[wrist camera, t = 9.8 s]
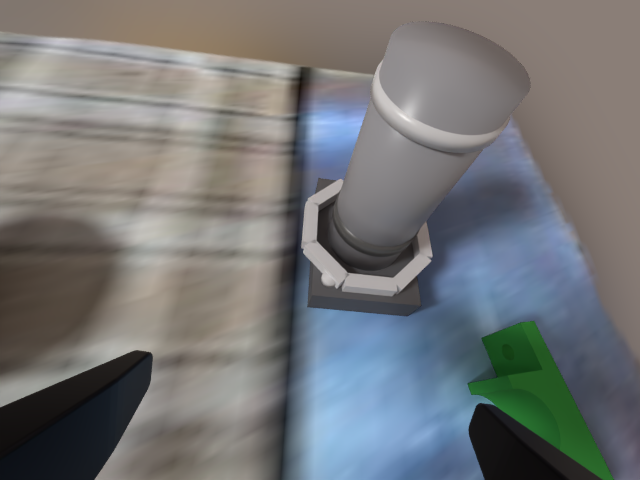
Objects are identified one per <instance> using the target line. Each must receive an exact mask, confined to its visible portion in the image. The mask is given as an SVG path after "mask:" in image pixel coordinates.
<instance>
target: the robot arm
mask: <svg viewBox="0 0 640 480" xmlns="http://www.w3.org/2000/svg"><path fill="white" fill-rule="evenodd" d="M152 361H153V356H152V354H151V352H146V351H139V350H135V351H132V352H130V353H127V354H125V355H123V356H120V357H118V358H116V359H113V360H111V361H109V362H106V363H104V364H102V365H99V366H97V367H94V368H92V369H90V370H87V371H85V372H83V373H80V374H78V375H76V376H73V377H71V378H69V379H66V380H64V381H61V382H59V383H57V384H54V385H52V386H50V387H47V388H45V389H43V390H40V391H38V392H35V393H33V394H31V395H28V396H26V397H24V398H21V399H19V400H17V401H14V402H12V403H9V404H7V405H5V406H2V407H0V480H95V478H96V477H97V475H98V474H99V472H100V471H101V469H102V468H103V466H104V465H105V463H106V462H107V460H108V459H109V457H110V456H111V454H112V453H113V451H114V449H115V448H116V446H117V444H118V442H119V441H120V439H121V437H122V435H123V433H124V432H125V430H126V428H127V426H128V424H129V423H130V421H131V419H132V417H133V415H134V413H135V412H136V410H137V408H138V406H139V404H140V403H141V401H142V399H143V397H144V395H145V393H146V392H147V390H148V387H149V385H150V381H151V372H152ZM469 437H470V440H471V443H472V445H473V448H474V451H475V454H476V457H477V460H478V462H479V465H480V468H481V471H482V474H483V477H484V479H485V480H603V479H601V478H600V477H598V476H597V475H595V474H594V473H592V472H591V471H590V470H588V469H587V468H585V467H584V466H582V465H581V464H579V463H578V462H576V461H575V460H574V459H572V458H571V457H569V456H568V455H566V454H565V453H563V452H562V451H560V450H559V449H557V448H556V447H555V446H553V445H552V444H550V443H549V442H547V441H546V440H544V439H543V438H541V437H540V436H538V435H537V434H536V433H534V432H533V431H531V430H530V429H528V428H527V427H525V426H524V425H522V424H521V423H519V422H518V421H517V420H515V419H514V418H512V417H511V416H509V415H508V414H506V413H505V412H503V411H502V410H501V409H499V408H498V407H496V406H494V405H491V404H484V403H479V404H478V405H477V406H476V408H475V411H474V413H473V416H472V419H471V422H470V425H469Z"/></svg>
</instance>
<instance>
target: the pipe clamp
mask: <svg viewBox="0 0 640 480" xmlns="http://www.w3.org/2000/svg"><path fill="white" fill-rule="evenodd" d="M482 341H483V343H484V345H485V348H486V350H487V353H488V355H489V358H490V360H491V363H492V365H493V368H494V370H495V373H496V375H497V378H493V379H488V380H483V381H478V382H473V383H468V386H469V389H470V392H471V395H481V396H484V397H486V398H488V399H489V400H490V401H492V402H493V403H494V404H495V405H496V406H497V407H498V408H499V409H501V410H502V411H503V412H505V413H506V414H508V415H509V416H511V417H512V418H514V419H515V420H517V421H518V422H519V423H521V424H522V425H524V426H525V427H527V428H528V429H530V430H531V431H533V432H534V433H536V434H537V435H538V436H540V437H541V438H543V439H544V440H546V441H547V442H549V443H550V444H552V445H553V446H555V447H556V448H557V449H559V450H560V451H562V452H563V453H565V454H566V455H568V456H569V457H571V458H572V459H574V460H575V461H576V462H578V463H579V464H581V465H582V466H584V467H585V468H587V469H588V470H590V471H591V472H592V473H594V474H595V475H597V476H598V477H600V478H601V479H603V480H614V479H613V477H612V475H611V473H610V471H609V469H608V467H607V465H606V463H605V461H604V459H603V457H602V455H601V453H600V451H599V449H598V447H597V445H596V443H595V441H594V439H593V437H592V435H591V433H590V431H589V429H588V427H587V425H586V423H585V421H584V419H583V417H582V415H581V413H580V411H579V409H578V407H577V405H576V403H575V401H574V399H573V397H572V395H571V393H570V391H569V389H568V387H567V385H566V383H565V381H564V379H563V377H562V375H561V373H560V371H559V369H558V367H557V365H556V363H555V362H554V360H553V358H552V356H551V354H550V352H549V350H548V348H547V346H546V344H545V342H544V340H543V338H542V336H541V334H540V332H539V330H538V328H537V326H536V324H535V322H534V321H530V322H522V323H518V324H516V325H513V326H511V327H508V328H506V329H503V330H501V331H498V332H496V333H493V334H491V335H488V336H486V337H483V338H482Z"/></svg>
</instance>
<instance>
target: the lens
mask: <svg viewBox="0 0 640 480" xmlns="http://www.w3.org/2000/svg"><path fill="white" fill-rule="evenodd" d="M529 90H530V78H529V76H528V73H527V71H526V70H525V68H524V67H523V66H522V64H521V63H520V62H519V61H518V60H517V59H516V58H515V57H514V56H513V55H511V54H510V53H509V52H508V51H506V50H505V49H504V48H502V47H501V46H499V45H497V44H496V43H494V42H492V41H491V40H489V39H487V38H485V37H483V36H481V35H479V34H476V33H474V32H471V31H469V30H466V29H463V28H460V27H456V26H453V25H448V24H444V23H437V22H412V23H407V24H404V25H402V26H400V27H398V28H397V29H395V30H394V32H393V33H392V35H391V38H390V41H389V44H388V48H387V50H386V53H385V57H384V59H383V61H381V63H380V64H379V65H378V67H377V70H376V73H375V76H374V79H373V82H372V85H371V90H370V95H371V99H370V102H369V105H368V108H367V111H366V114H365V117H364V120H363V123H362V126H361V129H360V132H359V136H358V139H357V142H356V145H355V148H354V151H353V154H352V157H351V160H350V163H349V166H348V169H347V172H346V175H345V178H344V181H343V184H342V188H341V190H340V191H339V193H338V195H337V198H336V201H335V205H334V208H333V213H332V218H331V221H330V224H329V228H328V239H329V243H330V245H331V248H332V249H333V251H334V252H335V254H336V255H337V256H338V257H339V258H340V259H341V260H342V261H343V262H345V263H346V264H348V265H350V266H352V267H354V268H357V269H360V270H365V271H376V270H380V269H384V268H386V267H388V266H389V265H391V264H392V263H393V262H394V261H395V260H396V258H397V257H398V256H399V255H400V253H401V252H402V251H403V250H405V249H406V248H407V247H408V246H409V244H410V243H411V242H412V241H413V239H414V238H415V237H416V236H417V234H418V232H419V230H420V228H421V227H422V226H423V224H424V223H425V222H426V221H427V219H428V218H429V217H430V216H431V214H432V213H433V212H434V211H435V209H436V208H437V207H438V206H439V204H440V203H441V202H442V201H443V199H444V198H445V197H446V196H447V194H448V193H449V192H450V191H451V189H452V188H453V187H454V185H455V184H456V183H457V182H458V180H459V179H460V178H461V177H462V175H463V174H464V173H465V172H466V170H467V169H468V168H469V167H470V165H471V164H472V163H473V162H474V160H475V159H476V158H477V157H478V155H479V154H480V153H481V152H482V150H483V149H485V148H486V147H488V146H490V145H491V144H492V143H493V142H494V141H495V140H496V138H497V137H498V136H499V135H500V133H501V132H502V131H503V130H504V128H505V127H506V126H507V124H508V122H509V120H510V115H511V114H512V112H513V111H514V110H515V109H516V108H517V106H518V105H519V104H520V102H521V101H522V100H523V98H524V97H525V96H526V95H527V94H528V92H529Z"/></svg>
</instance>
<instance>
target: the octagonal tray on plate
mask: <svg viewBox="0 0 640 480" xmlns="http://www.w3.org/2000/svg"><path fill="white" fill-rule="evenodd" d="M342 184H343V180H342V179H339V180H337V181H336V180H329V179H321V178H319V179H318V183H317V188H316V192H315V194H314V195H313V196H311V197H310V198H308V202H306V205H305V211H304V223H303V235H302V246H301V248H304V251H303V253H304V254H305V255H306V256H307V257H308V259H309V260H310V275H309V291H308V306H307V307H312V308H323V309H334V310H345V311H356V312H366V313H377V314H388V315H399V316H408V315H410V314H411V313H412V312H414V311H415V310H416V309H418V308H419V307H420V306H421V301H420V294H419V287H418V280H417V275H418V274H419V273H420V272H421V271H422V270H423V269H424V268H425V267H426V266H427V265H428V264H429V263H430V262H431V260H430V259H431V258H432V257H433V255H432V249H431V244H430V238H429V233H428V227H427V222H425V223H424V224H423V226H422V227H421V228H420V230H419V232H418V234H417V236H416V237H415V238H414V239H413V241H412V242H411V243H410V244H409V246H408V247H407V248H406V249H405V250H403V251H402V252H401V253H400V255H399V256H398V257H397V258H396V260H395V261H394V262H393V263H392V264H391V265H389V266H388V267H386V268H384V269H380V270H376V271H365V270H360V269H357V268H354V267H352V266H350V265H348V264H346V263H345V262H343V261H342V260H341V259H340V258H339V257H338V256H337V255H336V254H335V252H334V251H333V249H332V248H331V245H330V243H329V239H328V228H329V224H330V221H331V218H332V213H333V208H334V205H335V201H336V198H337V195H338V193H339V191H340V190H341V188H342Z"/></svg>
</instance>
